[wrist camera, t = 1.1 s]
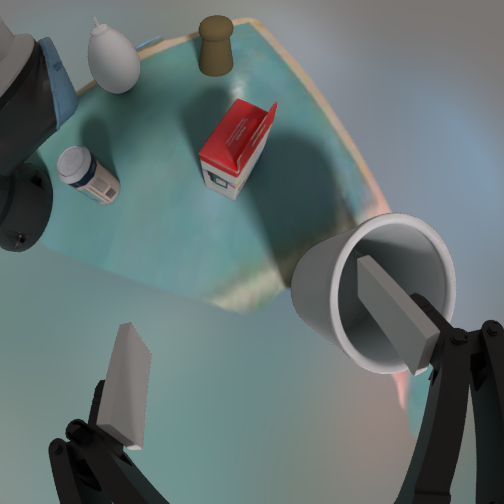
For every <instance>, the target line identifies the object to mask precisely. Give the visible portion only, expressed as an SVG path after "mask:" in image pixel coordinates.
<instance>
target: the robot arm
mask: <svg viewBox="0 0 504 504" xmlns="http://www.w3.org/2000/svg"><path fill="white" fill-rule="evenodd" d="M77 107H78V97H77V94H76V92H75V90H74V87H73V85H72V83H71V81H70V79H69V77H68V74H67V72H66V70H65V68H64V66H63V65H62V62H61V60H60V57H59V55H58V53H57V50H56V48H55V46H54V44H53V42H52V40H51V39H50V38H49V37H46V38H44V39H41V40H39V41H38V42H36V41H35V39H34V38H33V37H32V35H30V34H20V35H13V34H12V33H11V32H10V30H9V29H8V27H7V26H6V25H5V24H4V22H3V21H2V19H1V18H0V247H1V248H2V249H5V250H7V251H13V252H22V251H25V250H27V249H29V248H30V247H32V246H33V245H34V244H35V243H36V242H37V241H38V239H39V238H40V237H41V235H42V234H43V232H44V230H45V228H46V226H47V223H48V221H49V217H50V214H51V209H52V201H53V192H52V186H51V182H50V179H49V177H48V175H47V174H46V173H45V172H44V171H43V170H42V169H40V168H39V167H37V166H36V165H34V164H31V163H23V162H24V161H25V160H26V159H27V158H28V157H29V156H30V155H31V154H32V153H33V152H34V151H35V150H36V149H37V148H38V147H39V146H41V145H42V144H43V143H44V142H45V141H46V140H47V139H48V138H49V137H50V136H51V135H52V134H54V133H55V132H57V131H58V130H59V129H60V126H61V125H62V124H64V123H65V122H66V121H67V120H68V119H69V118H70V117H71V116H72V115H73V114H74V113H75V111H76V109H77ZM357 269H358V297H359V299H360V300H361V301H362V303H363V304H364V305H365V307H366V308H367V310H368V311H369V312H370V314H371V315H372V316H373V318H374V319H375V321H376V322H377V323H378V325H379V326H380V327H381V329H382V330H383V332H384V333H385V335H386V336H387V337H388V339H389V340H390V342H391V343H392V345H393V346H394V347H395V349H396V350H397V352H398V353H399V355H400V356H401V358H402V359H403V361H404V362H405V364H406V365H407V367H408V368H409V370H410V371H411V373H412V374H413V376H416V375H418V374H420V373H422V372H424V371H425V370H427V368H428V365H429V363H430V364H431V365H432V366H433V370H432V372H431V375H430V377H429V379H428V380H431V381H430V387H429V393H428V398H427V403H426V407H425V412H424V416H423V421H422V425H421V429H420V432H419V436H418V440H417V443H416V447H415V450H414V453H413V456H412V460H411V463H410V465H409V468H408V471H407V474H406V477H405V480H404V482H403V485H402V487H401V490H400V492H399V495H398V497H397V499H396V501H395V502H394V504H450V501H451V495H450V486H451V482H452V479H453V476H454V472H455V468H456V464H457V460H458V456H459V452H460V447H461V441H462V437H463V431H464V425H465V418H466V411H467V402H468V392H469V384H470V390H471V397H472V404H473V412H474V422H475V434H476V454H477V476H476V504H504V329H503V327H502V325H501V324H500V323H499V322H497V321H494V320H488V321H485V322H484V324H483V325H482V328H481V329H480V330H476V331H471V332H466V331H465V330H463V329H460V328H453V327H452V326H451V325H450V324H449V322H448V321H447V320H446V319H445V318H444V317H443V316H442V315H441V314H440V313H439V312H438V311H437V309H435V307H434V306H433V305H432V304H430V302H429V301H428V300H427V299H426V298H425V297H424V296H422V295H420V294H418V293H413V294H411V295H409V296H408V295H407V294H406V292H405V291H404V290H403V289H402V288H401V287H400V286H399V285H398V284H397V283H396V282H395V281H394V280H393V279H392V278H391V277H390V276H389V275H388V274H387V273H386V272H385V271H384V270H383V269H382V267H381V266H380V265H379V264H378V263H377V262H376V261H375V260H374V259H373V258H372V257H371V256H369V255H367V256H364V257H361V258H358V259H357ZM151 355H152V354H151V352H150V351H149V349H148V348H147V346H146V345H145V343H144V342H143V340H142V339H141V337H140V336H139V334H138V333H137V331H136V329H135V328H134V326H133V325H132V323H131V322H130V323H126V324H122V325H120V327H119V330H118V333H117V337H116V341H115V344H114V348H113V352H112V355H111V359H110V364H109V368H108V372H107V375H106V380H100V382H99V383H98V385H97V386H96V388H95V393H94V398H93V401H92V405H91V410H90V415H89V420H88V424H86V423H85V422H84V421H83V420H81V419H75V420H73V421H71V422H70V423H69V424H68V426H67V428H66V433H65V434H66V437H67V438H68V439H69V440H70V441H69V442H65V441H64V440H63V439H60V438H56V439H54V440H53V441H52V442H51V443H50V446H49V458H50V463H51V468H52V473H53V477H54V482H55V486H56V490H57V494H58V497H59V501H60V504H112V502H113V504H169V502H168V501H167V500H166V499H165V498H164V497H163V496H162V495H161V494H160V493H159V492H158V491H157V490H156V489H155V488H154V486H153V485H152V484H151V483H150V482H149V481H148V480H147V479H146V477H145V476H144V475H143V474H142V473H141V471H140V470H139V469H138V468H137V467H136V465H135V464H134V463H133V462H132V460H131V459H130V458H129V457H128V455H127V454H126V453H125V452H124V451H123V446H126V447H127V448H128V449H130V450H142V449H143V440H144V425H145V412H146V400H147V389H148V380H149V372H150V364H151Z"/></svg>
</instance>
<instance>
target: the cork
mask: <svg viewBox="0 0 504 504" xmlns="http://www.w3.org/2000/svg"><path fill="white" fill-rule="evenodd" d="M199 33H200V36H201V37H202V38H203V39H202V46H201V53H200V61H199V69H200V71H201V72H202V73H203V74H205V75H208V76H213V77H218V76H223V75H225V74H227V73H229V72H230V71H231V70H232V68H233V58H232V51H231V44H230V36H231V35H232V33H233V24H232V21H231V20H230V19H228V18H227V17H225V16H218V15H217V16H216V15H215V16H210V17H207V18H205V19H204V20H203V21H202V22H201V23H200V26H199Z"/></svg>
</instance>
